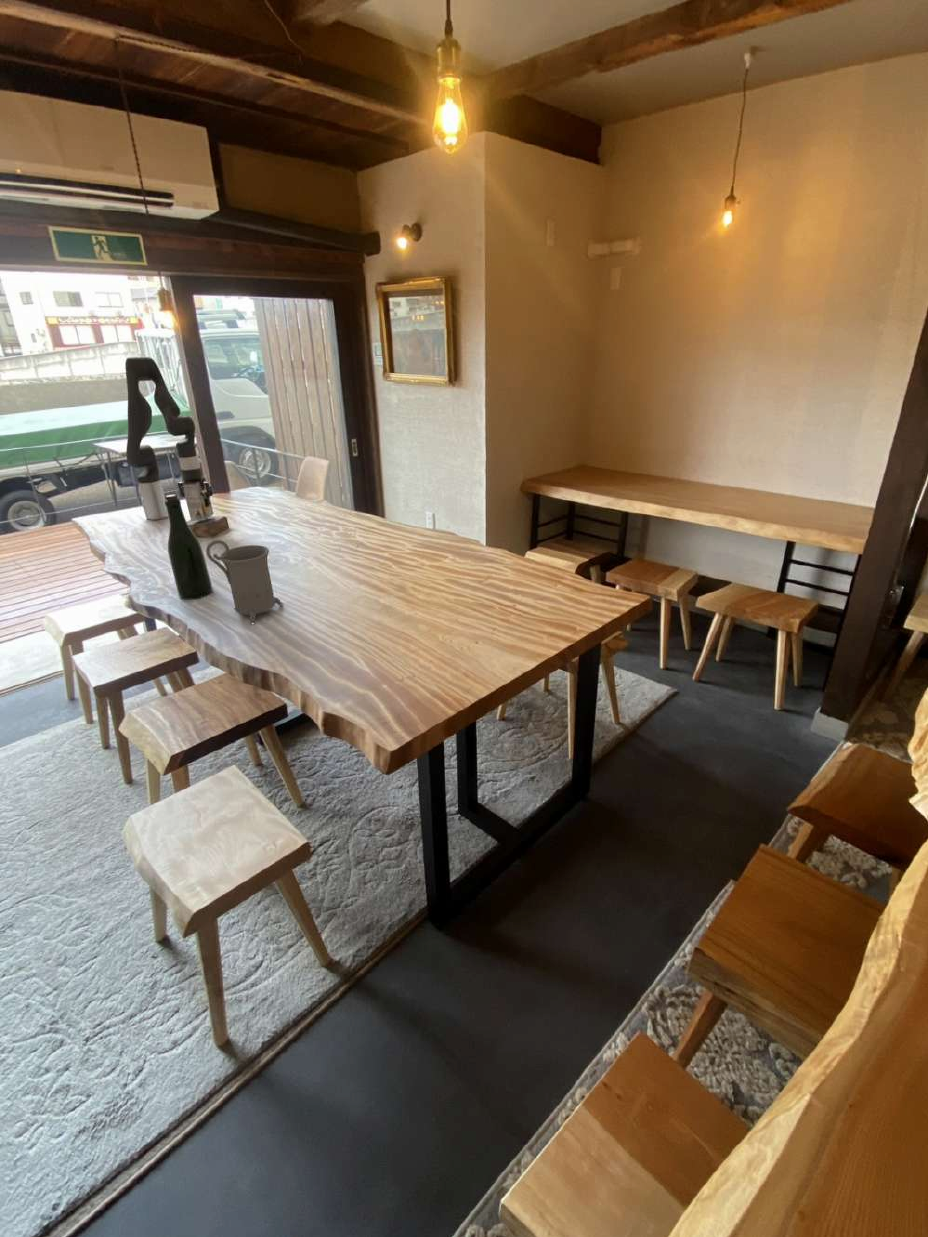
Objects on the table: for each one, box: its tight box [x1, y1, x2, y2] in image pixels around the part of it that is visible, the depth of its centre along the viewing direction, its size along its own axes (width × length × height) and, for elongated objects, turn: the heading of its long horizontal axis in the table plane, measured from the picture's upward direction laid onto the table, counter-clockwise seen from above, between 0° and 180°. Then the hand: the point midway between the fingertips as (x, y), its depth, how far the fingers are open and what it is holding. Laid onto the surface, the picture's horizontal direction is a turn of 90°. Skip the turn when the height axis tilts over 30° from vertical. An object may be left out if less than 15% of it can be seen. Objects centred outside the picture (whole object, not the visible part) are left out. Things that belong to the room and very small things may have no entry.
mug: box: [205, 539, 284, 624], centre depth 175 cm, size 19×15×25 cm
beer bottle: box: [164, 494, 213, 599], centre depth 189 cm, size 10×10×33 cm
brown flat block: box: [186, 515, 230, 539], centre depth 256 cm, size 14×14×5 cm
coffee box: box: [182, 477, 214, 521], centre depth 251 cm, size 9×6×16 cm
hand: (199, 506), depth 252 cm, fingers closed on coffee box, 6 cm apart
